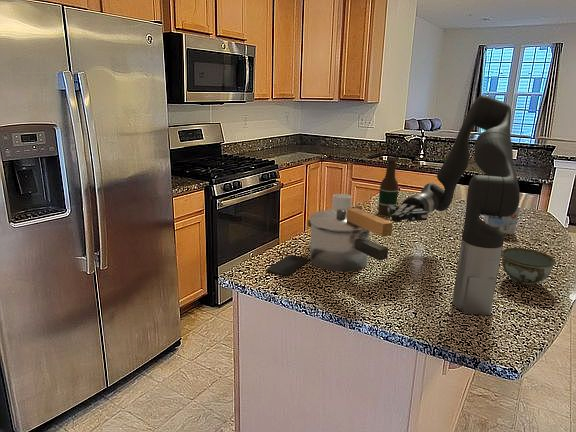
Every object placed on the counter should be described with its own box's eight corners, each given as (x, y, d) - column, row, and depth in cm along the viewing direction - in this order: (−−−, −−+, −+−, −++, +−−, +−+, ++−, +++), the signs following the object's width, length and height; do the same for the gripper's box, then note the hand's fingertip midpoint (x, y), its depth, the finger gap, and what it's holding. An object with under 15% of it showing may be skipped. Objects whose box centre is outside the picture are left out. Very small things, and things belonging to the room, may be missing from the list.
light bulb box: (485, 231, 167) (490, 205, 164) (482, 226, 173) (486, 200, 170) (515, 234, 165) (520, 207, 161) (511, 229, 171) (516, 203, 168)
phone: (310, 259, 135) (287, 275, 122) (310, 261, 135) (287, 278, 122) (289, 254, 138) (265, 269, 125) (289, 256, 138) (265, 272, 125)
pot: (292, 251, 141) (293, 216, 138) (335, 242, 150) (337, 209, 147) (356, 289, 115) (360, 248, 112) (403, 276, 125) (408, 237, 121)
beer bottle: (376, 214, 186) (381, 159, 179) (378, 210, 193) (383, 157, 186) (395, 216, 183) (400, 161, 177) (396, 212, 191) (401, 158, 184)
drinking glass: (348, 239, 154) (351, 198, 150) (329, 237, 156) (331, 197, 151) (349, 233, 161) (352, 194, 156) (331, 231, 162) (333, 193, 158)
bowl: (503, 268, 132) (508, 243, 130) (553, 280, 124) (559, 255, 122) (491, 282, 122) (496, 256, 120) (544, 297, 114) (551, 269, 112)
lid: (299, 218, 135) (299, 199, 134) (347, 211, 144) (349, 194, 142) (357, 250, 110) (359, 227, 108) (412, 240, 118) (414, 219, 117)
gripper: (399, 191, 137) (374, 201, 124) (440, 198, 130) (418, 210, 116) (396, 213, 139) (372, 226, 126) (437, 222, 132) (415, 236, 119)
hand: (394, 218), depth 121 cm, fingers closed
